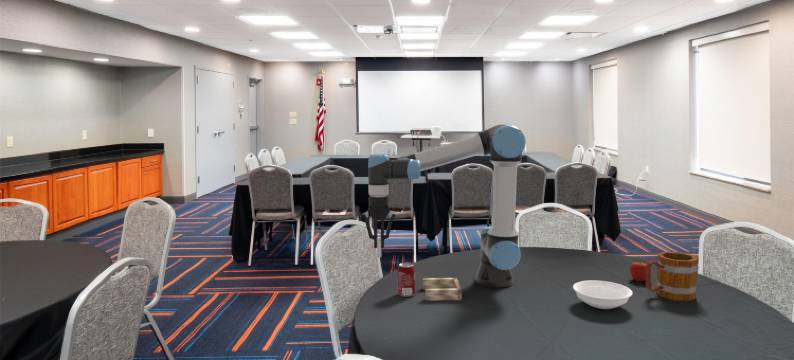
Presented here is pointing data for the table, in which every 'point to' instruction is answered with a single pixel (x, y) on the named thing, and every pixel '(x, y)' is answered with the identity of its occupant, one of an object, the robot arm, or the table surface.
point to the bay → (442, 289)
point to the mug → (674, 276)
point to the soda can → (406, 279)
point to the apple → (638, 271)
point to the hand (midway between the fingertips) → (379, 256)
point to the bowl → (602, 293)
